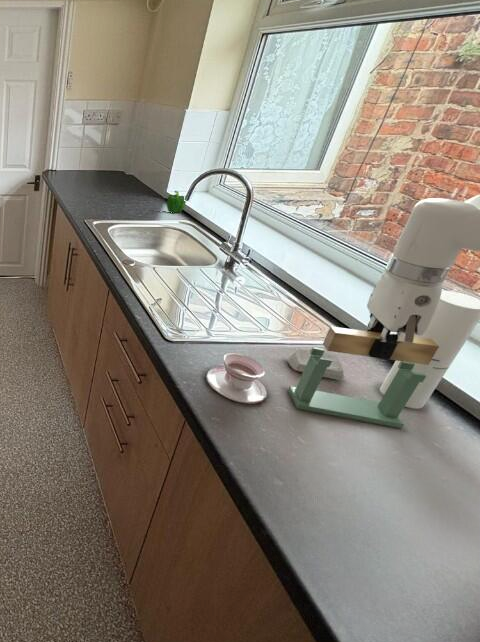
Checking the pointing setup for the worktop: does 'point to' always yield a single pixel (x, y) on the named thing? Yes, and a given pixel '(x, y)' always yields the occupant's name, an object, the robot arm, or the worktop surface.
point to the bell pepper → (175, 203)
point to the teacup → (238, 379)
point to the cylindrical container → (441, 343)
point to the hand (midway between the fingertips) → (374, 351)
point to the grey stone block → (302, 356)
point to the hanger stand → (351, 406)
